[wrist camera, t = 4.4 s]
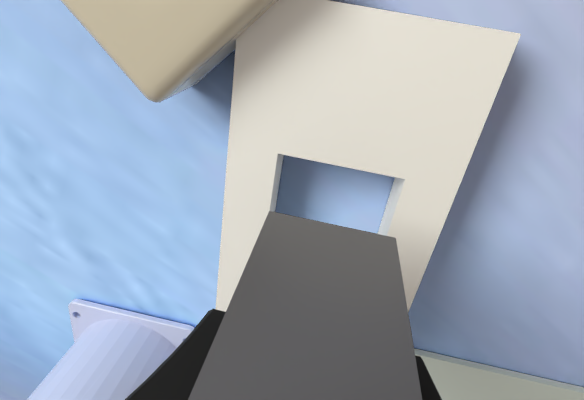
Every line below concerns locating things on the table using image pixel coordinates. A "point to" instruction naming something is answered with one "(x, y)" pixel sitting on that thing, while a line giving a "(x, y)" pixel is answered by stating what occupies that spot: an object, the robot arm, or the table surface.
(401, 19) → the power strip
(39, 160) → the table surface
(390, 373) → the charger
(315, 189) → the table surface
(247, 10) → the electrical outlet
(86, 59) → the table surface
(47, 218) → the table surface
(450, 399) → the mat
